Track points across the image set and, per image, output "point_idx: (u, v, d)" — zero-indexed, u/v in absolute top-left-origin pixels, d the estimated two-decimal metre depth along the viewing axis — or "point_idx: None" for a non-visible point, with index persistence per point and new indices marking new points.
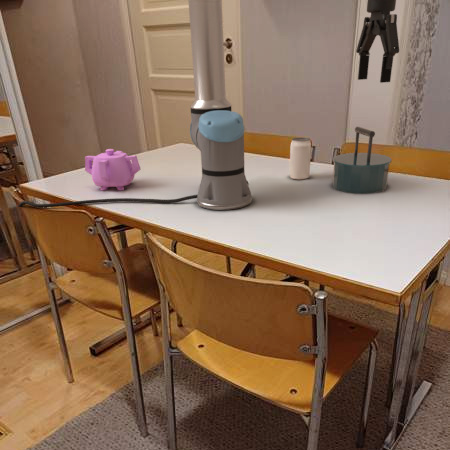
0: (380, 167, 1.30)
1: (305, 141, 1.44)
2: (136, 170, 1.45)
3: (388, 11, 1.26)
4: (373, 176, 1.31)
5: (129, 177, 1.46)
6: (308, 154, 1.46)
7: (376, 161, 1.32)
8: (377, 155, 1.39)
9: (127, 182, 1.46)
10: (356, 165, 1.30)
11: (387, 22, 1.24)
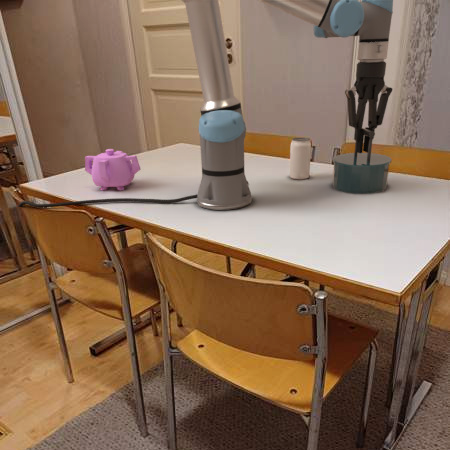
0: (380, 167, 1.30)
1: (305, 141, 1.44)
2: (136, 170, 1.45)
3: (357, 78, 1.25)
4: (373, 176, 1.31)
5: (129, 177, 1.46)
6: (308, 154, 1.46)
7: (376, 161, 1.32)
8: (377, 155, 1.39)
9: (127, 182, 1.46)
10: (356, 165, 1.30)
11: None
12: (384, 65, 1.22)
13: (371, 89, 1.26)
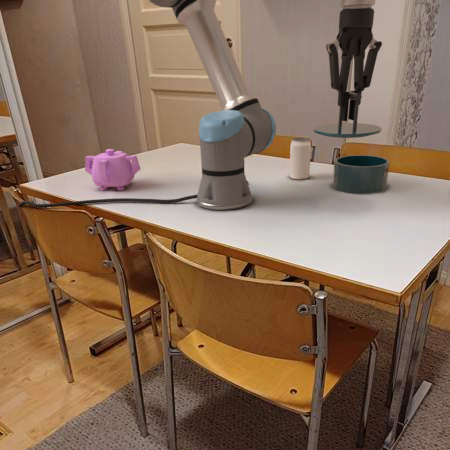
0: (380, 167, 1.30)
1: (305, 141, 1.44)
2: (136, 170, 1.45)
3: (340, 29, 1.05)
4: (373, 176, 1.31)
5: (129, 177, 1.46)
6: (308, 154, 1.46)
7: (363, 130, 1.13)
8: (365, 125, 1.19)
9: (127, 182, 1.46)
10: (340, 134, 1.10)
11: None
12: (372, 12, 1.02)
13: (357, 42, 1.06)
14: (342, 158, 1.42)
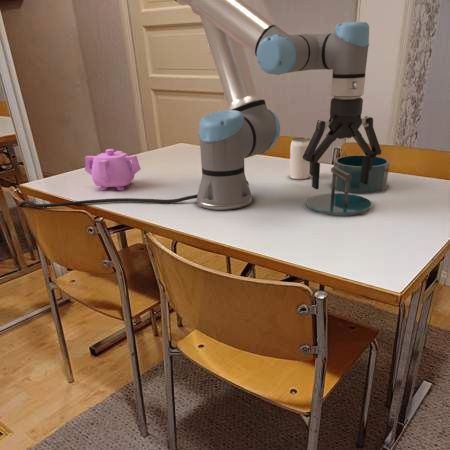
0: (380, 167, 1.30)
1: (305, 141, 1.44)
2: (136, 170, 1.45)
3: (331, 116, 1.12)
4: (373, 176, 1.31)
5: (129, 177, 1.46)
6: None
7: (354, 206, 1.20)
8: (356, 197, 1.26)
9: (127, 182, 1.46)
10: (331, 212, 1.17)
11: None
12: (360, 102, 1.09)
13: (347, 127, 1.13)
14: (342, 158, 1.42)
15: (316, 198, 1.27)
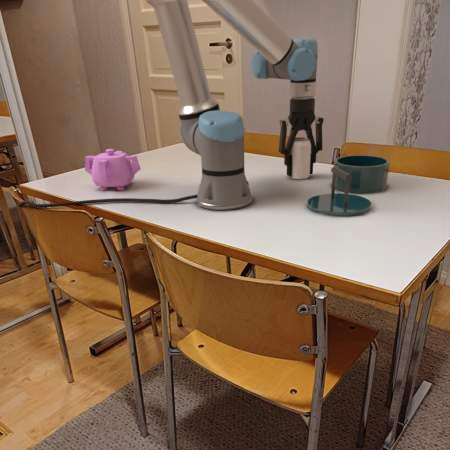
0: (380, 167, 1.30)
1: (305, 141, 1.44)
2: (136, 170, 1.45)
3: (290, 112, 1.41)
4: (373, 176, 1.31)
5: (129, 177, 1.46)
6: (308, 154, 1.46)
7: (354, 206, 1.20)
8: (356, 197, 1.26)
9: (127, 182, 1.46)
10: (331, 212, 1.17)
11: None
12: (312, 102, 1.38)
13: (303, 122, 1.42)
14: (342, 158, 1.42)
15: (316, 198, 1.27)
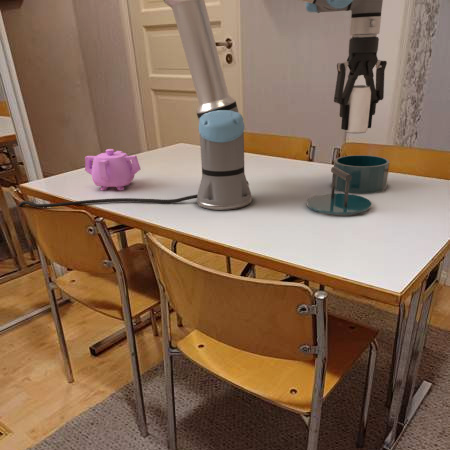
0: (380, 167, 1.30)
1: (365, 88, 1.26)
2: (136, 170, 1.45)
3: (350, 54, 1.24)
4: (373, 176, 1.31)
5: (129, 177, 1.46)
6: (368, 103, 1.28)
7: (354, 206, 1.20)
8: (356, 197, 1.26)
9: (127, 182, 1.46)
10: (331, 212, 1.17)
11: None
12: (377, 40, 1.21)
13: (364, 65, 1.25)
14: (342, 158, 1.42)
15: (316, 198, 1.27)
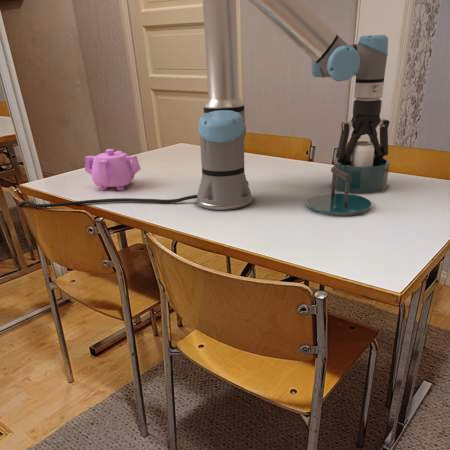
0: (380, 167, 1.30)
1: (369, 145, 1.32)
2: (136, 170, 1.45)
3: (354, 115, 1.29)
4: (373, 176, 1.31)
5: (129, 177, 1.46)
6: (371, 159, 1.34)
7: (354, 206, 1.20)
8: (356, 197, 1.26)
9: (127, 182, 1.46)
10: (331, 212, 1.17)
11: None
12: (380, 103, 1.27)
13: (367, 125, 1.31)
14: None
15: (316, 198, 1.27)
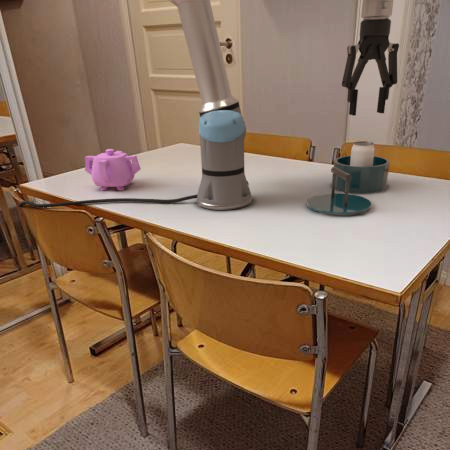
0: (380, 167, 1.30)
1: (369, 145, 1.32)
2: (136, 170, 1.45)
3: (361, 37, 1.20)
4: (373, 176, 1.31)
5: (129, 177, 1.46)
6: (371, 159, 1.34)
7: (354, 206, 1.20)
8: (356, 197, 1.26)
9: (127, 182, 1.46)
10: (331, 212, 1.17)
11: None
12: (389, 22, 1.17)
13: (375, 49, 1.21)
14: (342, 158, 1.42)
15: (316, 198, 1.27)
